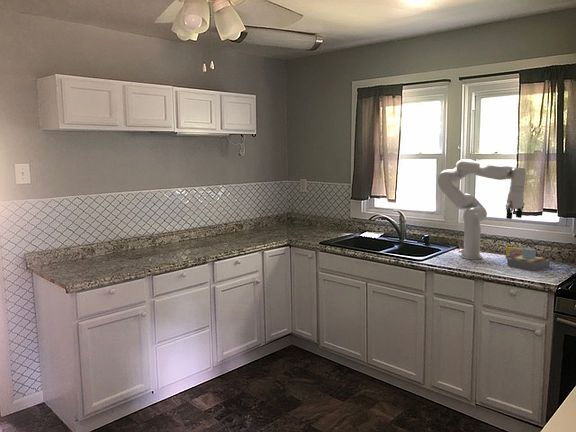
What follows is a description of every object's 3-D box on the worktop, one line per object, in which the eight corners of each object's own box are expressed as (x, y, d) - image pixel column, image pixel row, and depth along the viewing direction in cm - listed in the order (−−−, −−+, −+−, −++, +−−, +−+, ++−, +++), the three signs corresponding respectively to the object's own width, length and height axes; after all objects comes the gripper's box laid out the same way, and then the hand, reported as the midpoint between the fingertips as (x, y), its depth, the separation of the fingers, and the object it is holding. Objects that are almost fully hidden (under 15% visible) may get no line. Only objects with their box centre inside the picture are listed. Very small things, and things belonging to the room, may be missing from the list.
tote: (507, 267, 283) (507, 259, 282) (522, 263, 292) (522, 255, 291) (534, 272, 270) (535, 264, 269) (549, 268, 279) (550, 259, 278)
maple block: (512, 265, 282) (512, 257, 281) (523, 262, 289) (524, 254, 288) (533, 269, 272) (533, 261, 272) (544, 266, 279) (544, 258, 279)
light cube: (522, 257, 281) (522, 248, 280) (526, 256, 284) (527, 247, 283) (530, 259, 277) (531, 250, 276) (535, 257, 279) (535, 249, 279)
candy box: (504, 260, 302) (505, 246, 301) (506, 259, 303) (506, 246, 302) (533, 264, 291) (534, 250, 290) (534, 263, 292) (535, 249, 291)
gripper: (519, 187, 294) (516, 216, 297) (502, 189, 284) (499, 218, 287) (531, 189, 288) (528, 218, 290) (514, 190, 278) (511, 220, 281)
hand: (513, 218), depth 289 cm, fingers open, 9 cm apart
